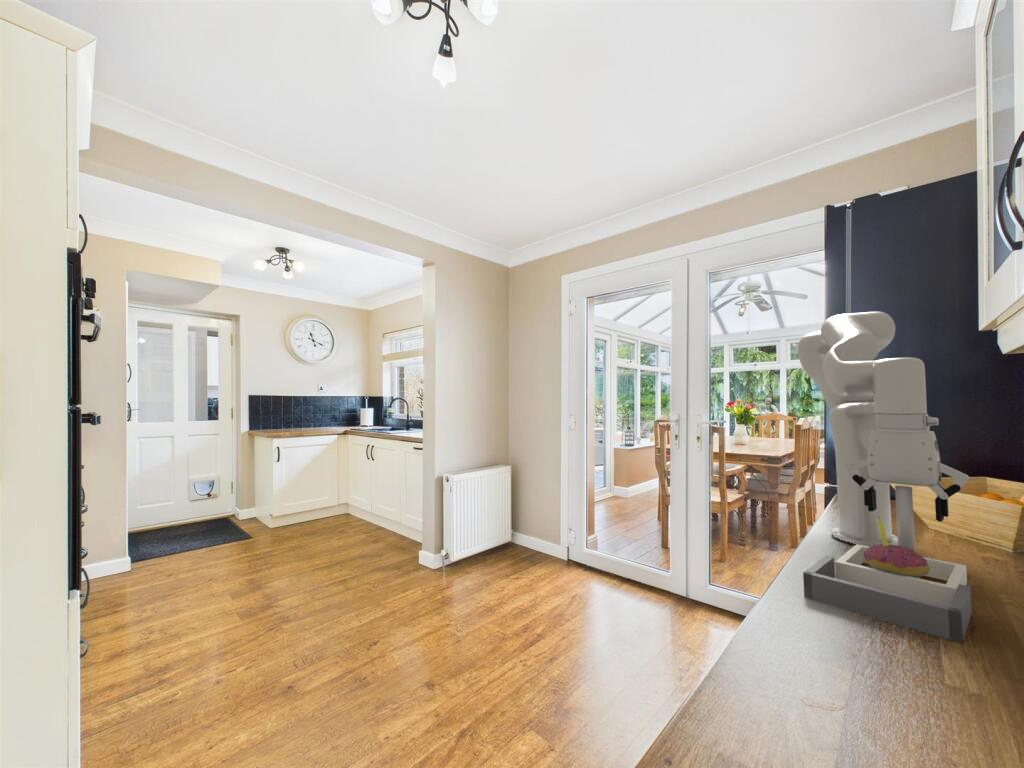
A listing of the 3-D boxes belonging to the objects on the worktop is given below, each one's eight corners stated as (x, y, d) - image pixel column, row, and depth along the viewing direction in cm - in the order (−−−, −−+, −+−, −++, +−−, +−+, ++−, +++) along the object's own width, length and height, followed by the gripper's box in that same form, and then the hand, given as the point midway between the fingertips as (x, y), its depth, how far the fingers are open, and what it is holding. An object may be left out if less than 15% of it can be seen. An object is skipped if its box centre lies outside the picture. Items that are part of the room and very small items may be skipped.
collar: (857, 558, 89) (854, 480, 89) (967, 581, 77) (962, 492, 77) (835, 578, 79) (832, 491, 80) (956, 608, 67) (951, 506, 68)
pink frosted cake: (863, 588, 76) (860, 518, 76) (866, 573, 82) (863, 508, 83) (931, 603, 70) (928, 526, 70) (929, 586, 76) (925, 516, 77)
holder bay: (827, 577, 81) (826, 554, 81) (971, 613, 67) (970, 586, 67) (804, 597, 73) (803, 572, 73) (962, 643, 59) (960, 612, 59)
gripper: (968, 423, 79) (973, 520, 78) (849, 421, 92) (853, 503, 91) (963, 425, 74) (969, 528, 73) (839, 422, 87) (842, 510, 87)
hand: (904, 514), depth 82 cm, fingers open, 9 cm apart
